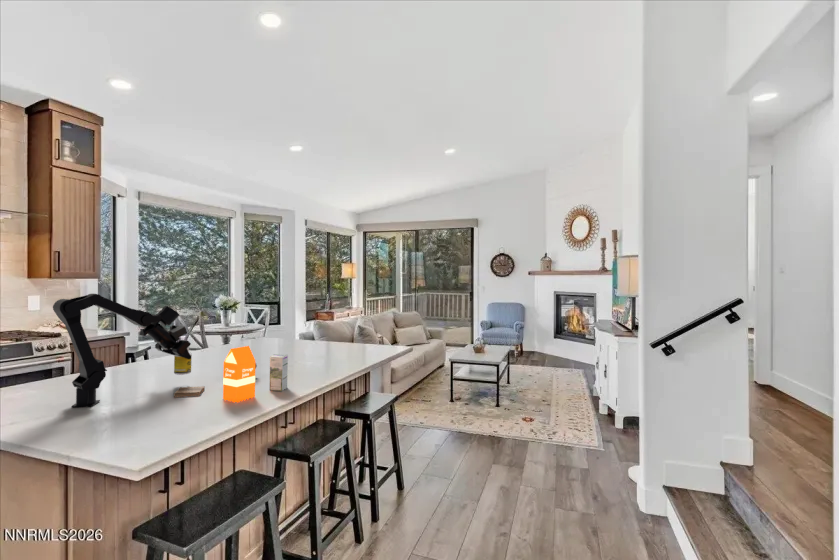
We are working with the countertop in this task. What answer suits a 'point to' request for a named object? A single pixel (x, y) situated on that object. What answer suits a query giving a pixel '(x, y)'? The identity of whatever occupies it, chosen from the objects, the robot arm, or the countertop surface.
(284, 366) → the syrup box
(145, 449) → the countertop surface
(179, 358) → the pill bottle
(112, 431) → the countertop surface
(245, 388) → the orange juice
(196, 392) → the base tile
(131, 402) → the countertop surface
